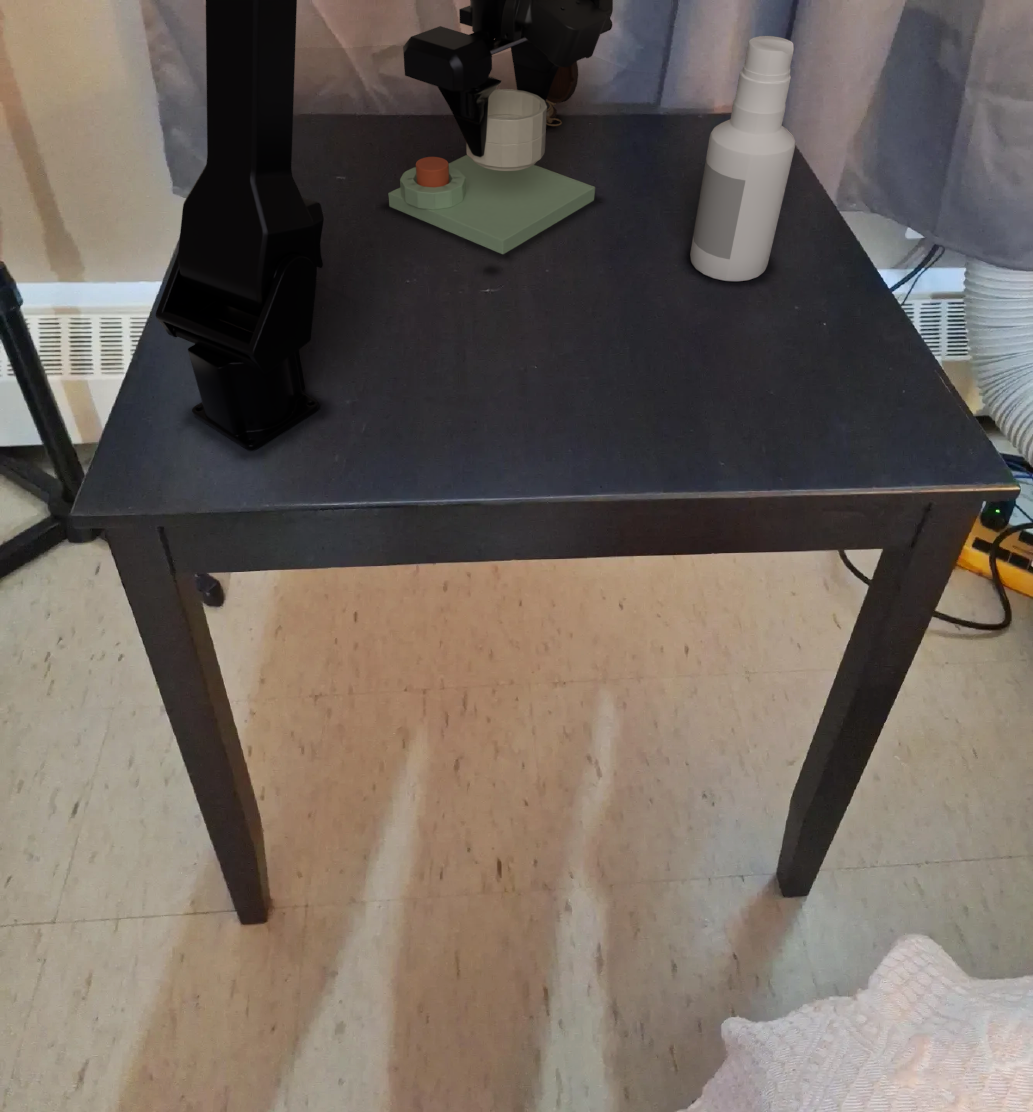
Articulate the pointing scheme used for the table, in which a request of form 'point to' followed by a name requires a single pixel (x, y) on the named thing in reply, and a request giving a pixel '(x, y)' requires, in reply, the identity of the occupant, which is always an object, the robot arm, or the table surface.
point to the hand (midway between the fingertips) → (504, 142)
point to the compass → (561, 90)
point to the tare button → (432, 172)
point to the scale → (492, 202)
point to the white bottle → (746, 169)
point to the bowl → (513, 131)
